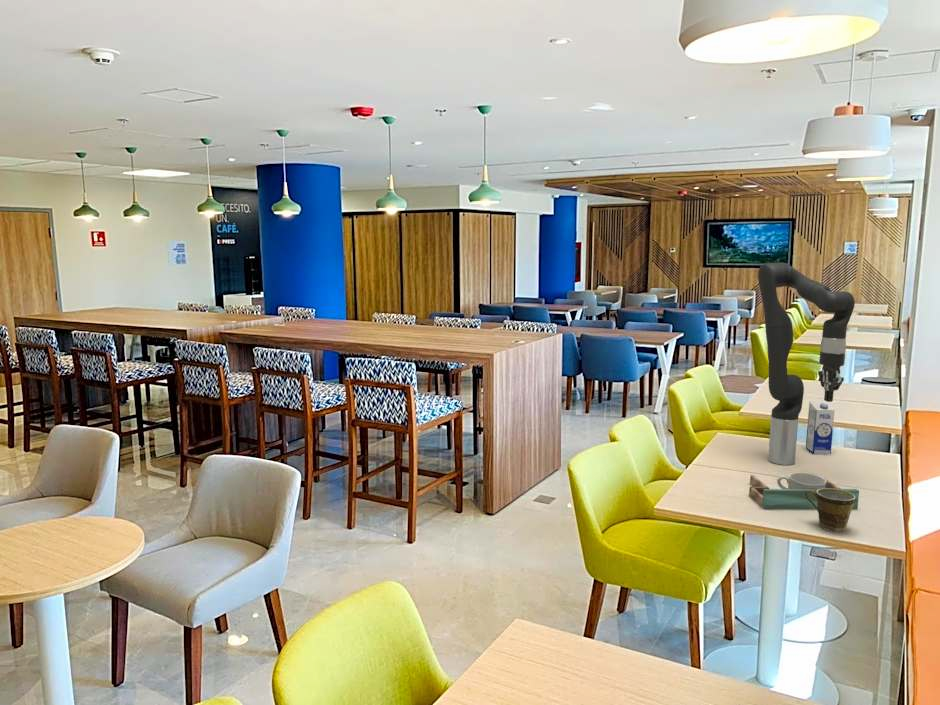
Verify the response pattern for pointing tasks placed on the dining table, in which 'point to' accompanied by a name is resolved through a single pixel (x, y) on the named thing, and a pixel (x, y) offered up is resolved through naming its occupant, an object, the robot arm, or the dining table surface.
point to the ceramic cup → (833, 507)
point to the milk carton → (820, 428)
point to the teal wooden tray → (789, 496)
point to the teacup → (802, 481)
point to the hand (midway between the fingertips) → (828, 401)
